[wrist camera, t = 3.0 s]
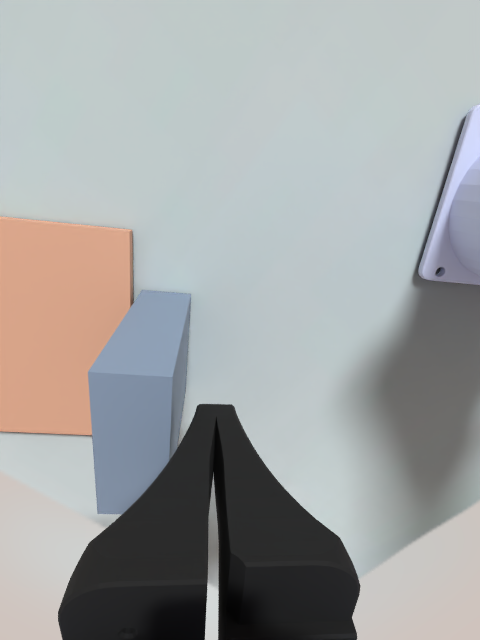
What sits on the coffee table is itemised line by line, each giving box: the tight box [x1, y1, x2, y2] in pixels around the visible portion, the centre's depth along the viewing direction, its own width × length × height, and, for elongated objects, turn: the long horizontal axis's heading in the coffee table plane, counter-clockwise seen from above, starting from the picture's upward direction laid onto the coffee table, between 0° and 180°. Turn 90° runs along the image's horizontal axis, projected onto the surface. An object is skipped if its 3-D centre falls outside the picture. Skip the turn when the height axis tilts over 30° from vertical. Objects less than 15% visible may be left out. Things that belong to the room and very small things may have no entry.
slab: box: [88, 290, 191, 514], centre depth 15 cm, size 2×6×8 cm, turn 174°
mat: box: [0, 217, 133, 435], centre depth 18 cm, size 8×12×1 cm, turn 174°
